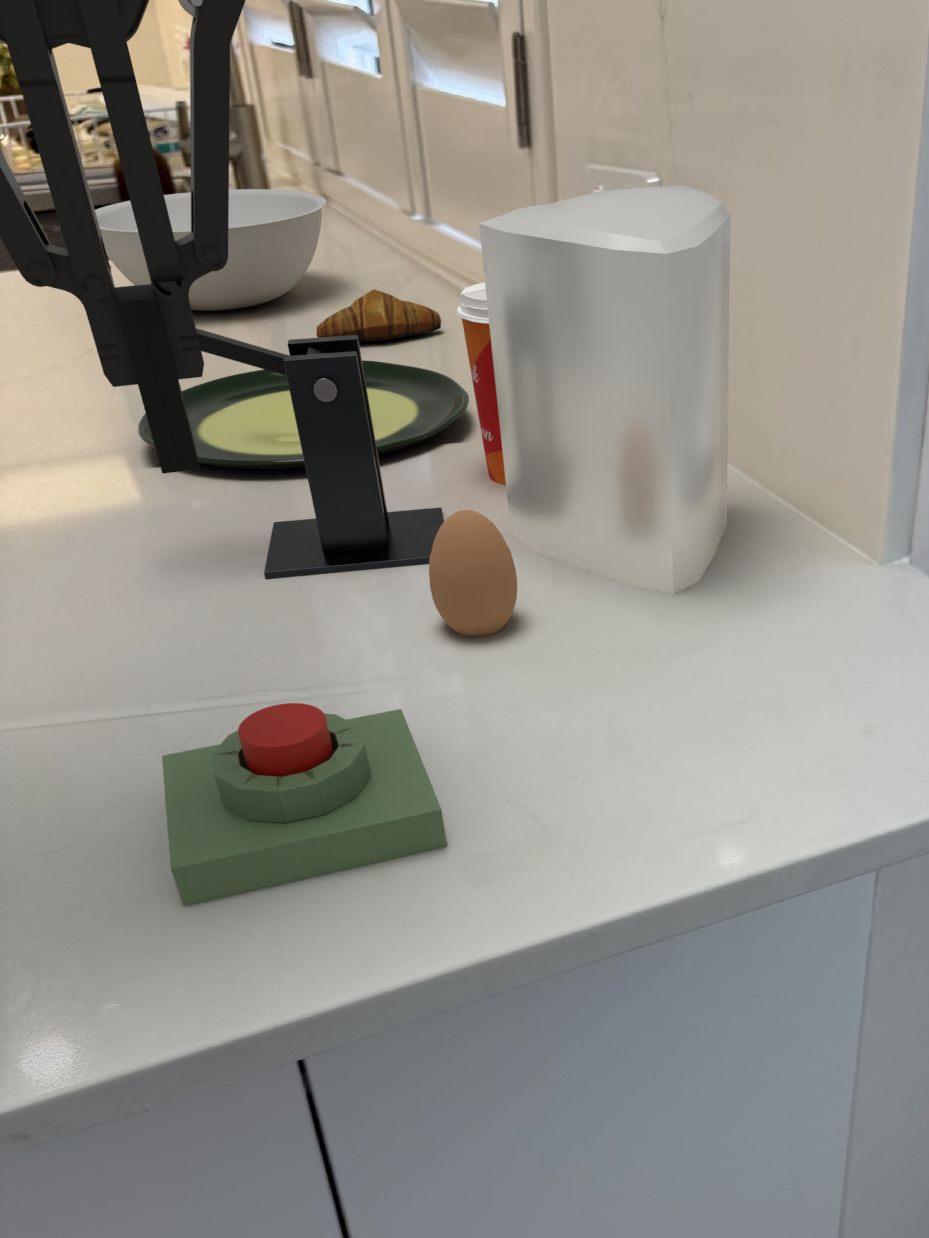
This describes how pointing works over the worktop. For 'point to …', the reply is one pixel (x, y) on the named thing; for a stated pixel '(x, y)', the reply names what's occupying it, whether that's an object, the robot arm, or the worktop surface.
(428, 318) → the croissant
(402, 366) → the plate
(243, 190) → the bowl
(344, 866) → the control block
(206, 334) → the lever
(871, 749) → the worktop surface
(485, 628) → the egg
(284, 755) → the button
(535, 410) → the frosted triangular prism
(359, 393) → the bracket
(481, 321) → the paper cup
